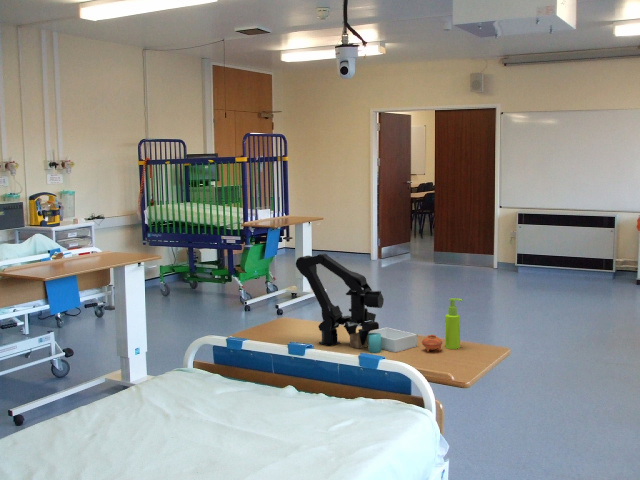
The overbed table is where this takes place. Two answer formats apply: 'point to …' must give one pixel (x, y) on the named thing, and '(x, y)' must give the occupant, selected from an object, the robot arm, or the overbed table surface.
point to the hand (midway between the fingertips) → (358, 343)
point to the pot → (432, 342)
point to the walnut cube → (356, 341)
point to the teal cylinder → (374, 342)
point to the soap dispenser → (452, 326)
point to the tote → (395, 339)
